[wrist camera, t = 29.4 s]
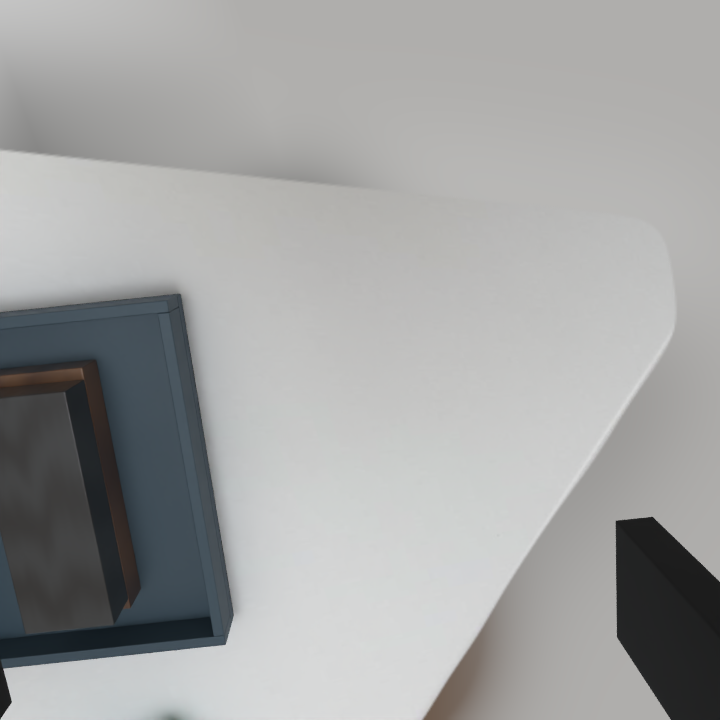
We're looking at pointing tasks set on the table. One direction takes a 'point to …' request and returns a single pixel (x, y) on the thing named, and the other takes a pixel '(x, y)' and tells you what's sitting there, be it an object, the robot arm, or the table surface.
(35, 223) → the table surface
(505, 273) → the table surface
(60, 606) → the two-tone stacked slabs
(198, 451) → the tray
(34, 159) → the table surface
